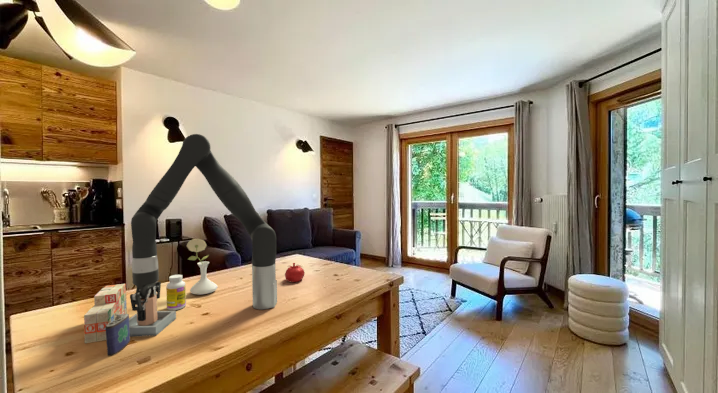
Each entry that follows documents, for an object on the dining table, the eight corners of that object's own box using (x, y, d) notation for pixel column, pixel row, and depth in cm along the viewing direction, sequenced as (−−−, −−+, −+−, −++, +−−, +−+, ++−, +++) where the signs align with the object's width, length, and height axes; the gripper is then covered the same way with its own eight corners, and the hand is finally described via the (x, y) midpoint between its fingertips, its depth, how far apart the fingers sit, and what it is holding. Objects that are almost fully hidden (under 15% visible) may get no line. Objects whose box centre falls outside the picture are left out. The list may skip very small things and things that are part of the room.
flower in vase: (221, 287, 150) (220, 236, 149) (211, 296, 139) (209, 240, 137) (194, 288, 150) (192, 236, 148) (181, 297, 138) (179, 241, 137)
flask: (123, 340, 101) (122, 308, 100) (133, 340, 101) (132, 307, 101) (104, 356, 92) (102, 321, 91) (115, 356, 92) (114, 320, 92)
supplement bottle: (177, 311, 123) (176, 279, 123) (162, 310, 125) (161, 278, 124) (189, 305, 130) (188, 274, 129) (175, 303, 131) (174, 273, 130)
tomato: (308, 279, 164) (308, 262, 163) (294, 284, 155) (295, 266, 155) (294, 276, 169) (294, 259, 168) (280, 280, 160) (280, 263, 160)
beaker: (160, 318, 113) (159, 293, 113) (151, 325, 107) (150, 299, 107) (144, 318, 113) (143, 294, 112) (133, 326, 107) (132, 300, 107)
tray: (176, 318, 117) (175, 310, 117) (155, 335, 104) (155, 327, 104) (139, 319, 116) (139, 311, 116) (114, 337, 103) (114, 328, 103)
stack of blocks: (108, 340, 102) (107, 302, 101) (84, 344, 99) (82, 306, 98) (127, 314, 121) (126, 282, 120) (107, 317, 119) (105, 285, 118)
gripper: (144, 275, 102) (146, 325, 103) (167, 263, 116) (169, 307, 117) (119, 275, 102) (122, 326, 103) (146, 263, 116) (148, 308, 117)
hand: (147, 316), depth 110 cm, fingers closed on beaker, 5 cm apart
